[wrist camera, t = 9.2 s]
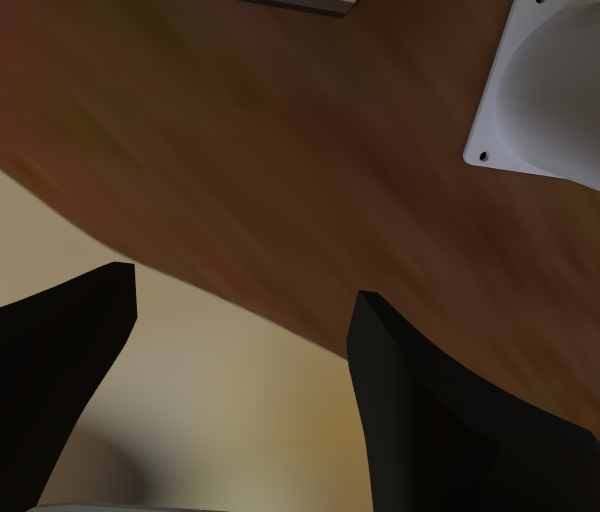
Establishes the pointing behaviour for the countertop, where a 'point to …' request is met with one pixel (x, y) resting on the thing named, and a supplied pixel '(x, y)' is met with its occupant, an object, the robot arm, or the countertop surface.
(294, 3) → the mount socket
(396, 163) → the countertop surface
